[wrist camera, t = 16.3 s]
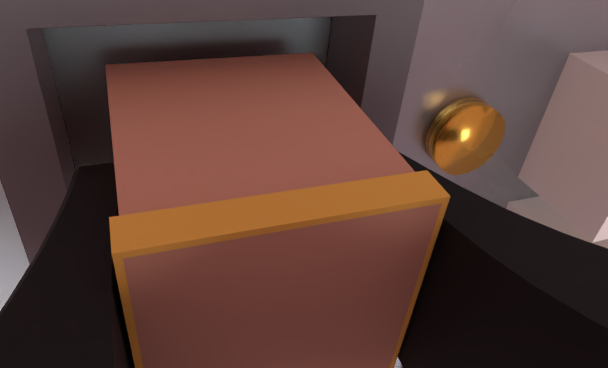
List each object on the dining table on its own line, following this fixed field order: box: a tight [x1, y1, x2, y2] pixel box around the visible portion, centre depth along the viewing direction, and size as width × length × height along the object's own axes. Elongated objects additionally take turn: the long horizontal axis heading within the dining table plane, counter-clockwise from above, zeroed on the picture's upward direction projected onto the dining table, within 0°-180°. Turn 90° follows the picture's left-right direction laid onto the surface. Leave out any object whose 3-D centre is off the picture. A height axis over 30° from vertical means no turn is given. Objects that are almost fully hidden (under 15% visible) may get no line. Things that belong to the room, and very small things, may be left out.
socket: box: [0, 0, 425, 264], centre depth 11 cm, size 8×8×2 cm
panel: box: [392, 0, 608, 208], centre depth 15 cm, size 12×14×2 cm
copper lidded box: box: [105, 53, 450, 368], centre depth 9 cm, size 4×4×5 cm
